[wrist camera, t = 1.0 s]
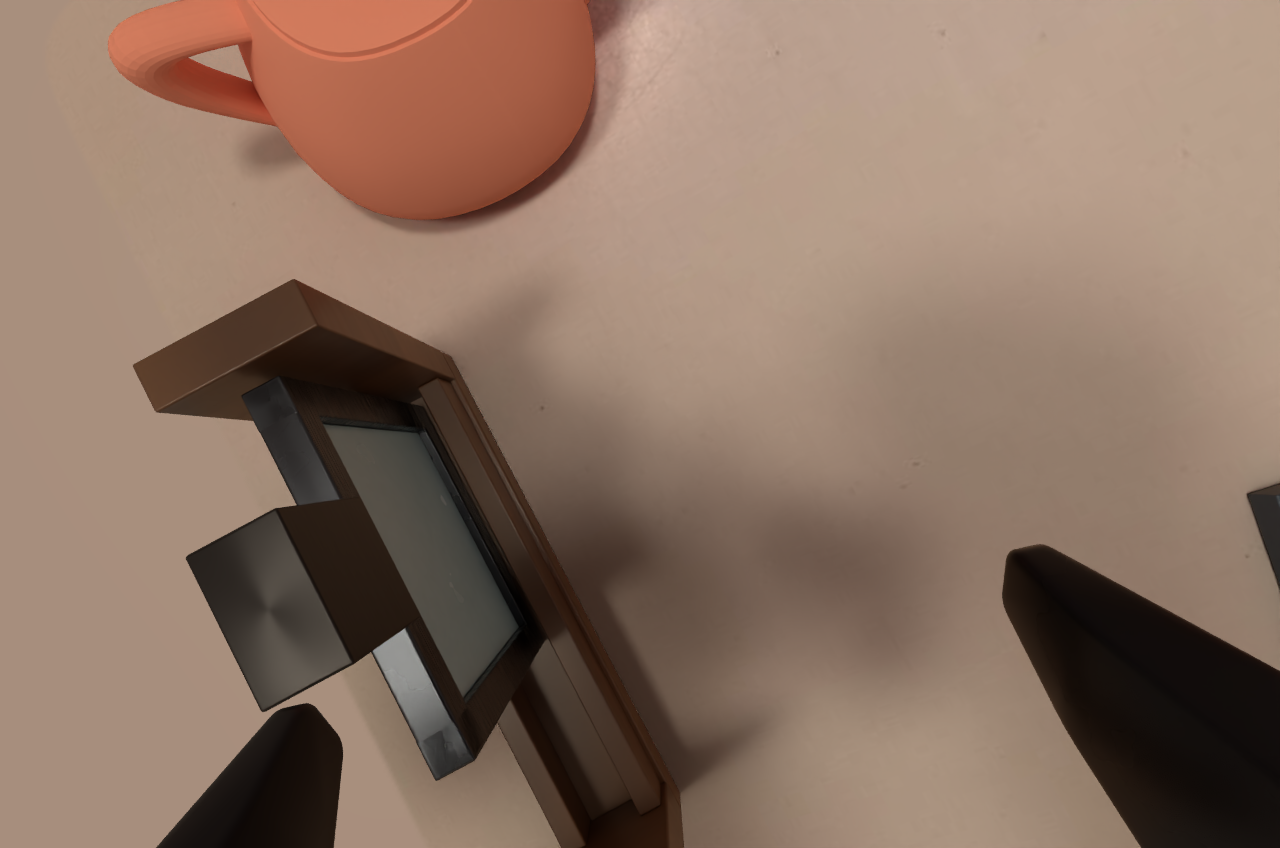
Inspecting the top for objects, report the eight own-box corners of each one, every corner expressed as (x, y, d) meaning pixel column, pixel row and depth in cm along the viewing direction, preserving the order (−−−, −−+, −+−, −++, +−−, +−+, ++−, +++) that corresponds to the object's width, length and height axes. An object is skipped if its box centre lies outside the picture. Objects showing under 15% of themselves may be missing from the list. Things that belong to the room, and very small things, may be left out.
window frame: (585, 845, 25) (529, 1167, 14) (358, 404, 26) (130, 364, 15) (680, 793, 25) (703, 1073, 14) (450, 355, 26) (293, 277, 15)
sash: (510, 660, 24) (348, 892, 11) (388, 423, 25) (100, 389, 12) (555, 636, 24) (443, 840, 11) (432, 400, 25) (191, 339, 12)
